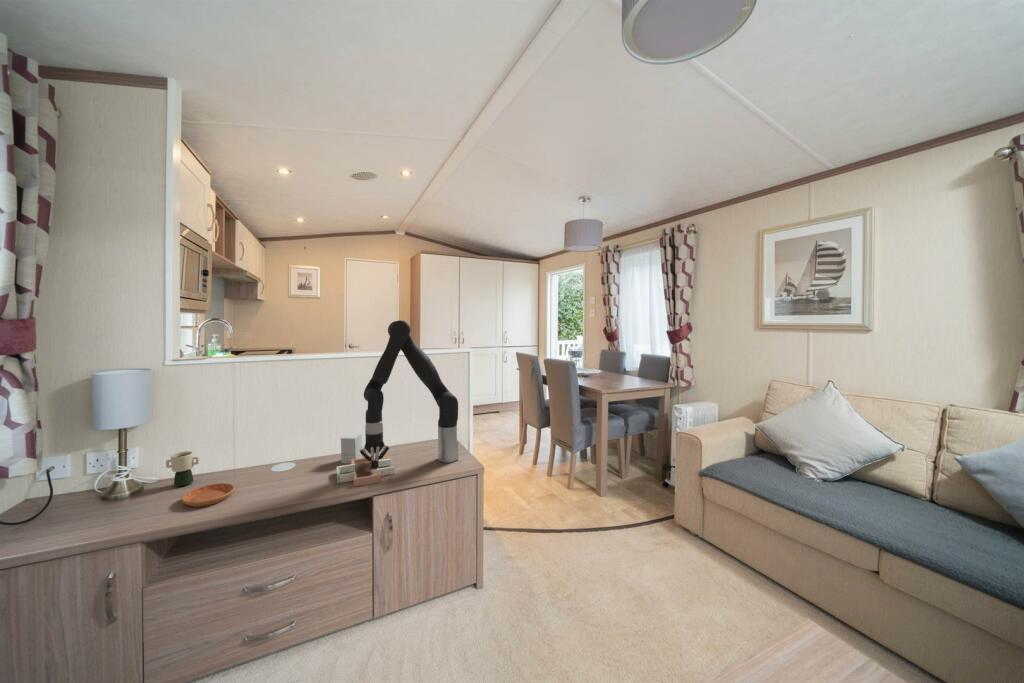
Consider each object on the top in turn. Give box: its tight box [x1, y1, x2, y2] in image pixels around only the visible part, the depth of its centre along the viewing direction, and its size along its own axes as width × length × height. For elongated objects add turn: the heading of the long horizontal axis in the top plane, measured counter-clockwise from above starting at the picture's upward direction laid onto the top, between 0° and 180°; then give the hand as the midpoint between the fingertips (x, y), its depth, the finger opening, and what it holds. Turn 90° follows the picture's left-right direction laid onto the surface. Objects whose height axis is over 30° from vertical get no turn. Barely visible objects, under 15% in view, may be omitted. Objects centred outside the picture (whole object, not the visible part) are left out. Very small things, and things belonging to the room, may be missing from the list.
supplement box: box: [340, 433, 364, 465], centre depth 186 cm, size 7×7×13 cm
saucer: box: [181, 482, 235, 508], centre depth 148 cm, size 16×16×3 cm
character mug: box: [165, 450, 200, 487], centre depth 159 cm, size 11×7×13 cm, turn 114°
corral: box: [336, 455, 395, 487], centre depth 173 cm, size 24×24×3 cm
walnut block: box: [354, 461, 372, 478], centre depth 172 cm, size 6×6×4 cm
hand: (374, 468), depth 174 cm, fingers closed
